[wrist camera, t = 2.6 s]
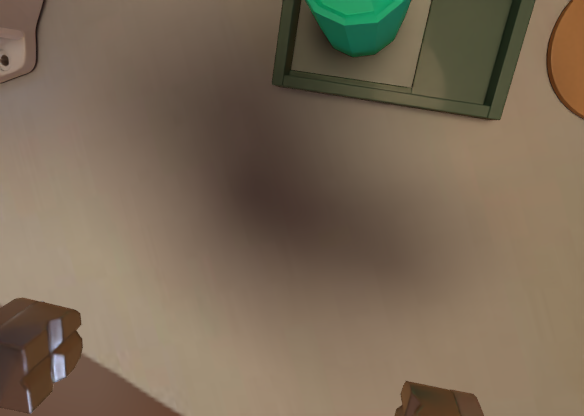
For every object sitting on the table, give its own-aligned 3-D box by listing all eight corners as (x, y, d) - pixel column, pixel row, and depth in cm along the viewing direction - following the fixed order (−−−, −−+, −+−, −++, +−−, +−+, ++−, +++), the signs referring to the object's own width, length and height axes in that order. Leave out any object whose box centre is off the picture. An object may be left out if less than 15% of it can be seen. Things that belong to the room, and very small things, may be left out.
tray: (278, 86, 29) (271, 84, 27) (302, -88, 26) (296, -106, 24) (489, 119, 27) (500, 120, 25) (543, -67, 24) (560, -85, 22)
